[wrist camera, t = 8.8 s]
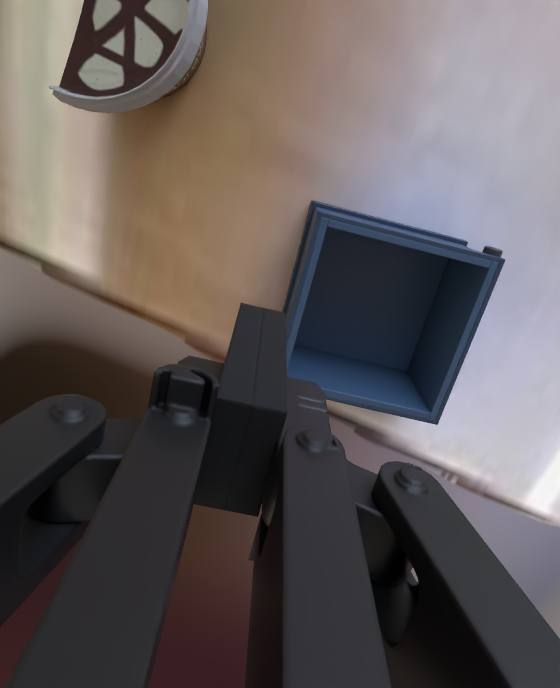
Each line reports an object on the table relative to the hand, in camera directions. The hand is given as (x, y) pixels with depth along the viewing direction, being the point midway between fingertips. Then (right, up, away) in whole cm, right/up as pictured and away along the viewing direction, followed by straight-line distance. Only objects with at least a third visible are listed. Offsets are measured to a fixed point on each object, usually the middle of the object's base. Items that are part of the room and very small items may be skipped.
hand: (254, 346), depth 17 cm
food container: (-6, +21, +19) cm, 29 cm away
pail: (+2, +4, +21) cm, 21 cm away
